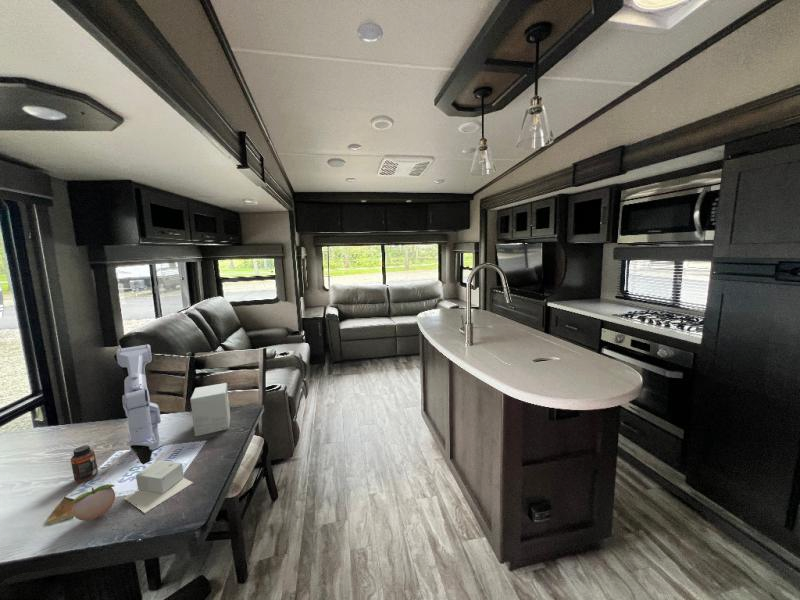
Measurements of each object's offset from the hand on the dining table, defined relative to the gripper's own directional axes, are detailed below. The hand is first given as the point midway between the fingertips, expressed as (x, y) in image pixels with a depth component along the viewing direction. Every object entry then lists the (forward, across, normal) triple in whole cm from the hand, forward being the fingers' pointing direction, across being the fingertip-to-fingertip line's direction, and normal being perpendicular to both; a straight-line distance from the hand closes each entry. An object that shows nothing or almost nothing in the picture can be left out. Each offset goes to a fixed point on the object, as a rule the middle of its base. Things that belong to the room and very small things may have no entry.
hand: (145, 462), depth 105 cm
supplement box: (+9, -17, +33) cm, 38 cm away
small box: (+5, -1, 0) cm, 6 cm away
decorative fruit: (+8, +2, -14) cm, 17 cm away
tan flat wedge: (+9, -11, -18) cm, 23 cm away
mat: (+8, +7, 0) cm, 11 cm away
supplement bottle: (+9, -25, -8) cm, 27 cm away
